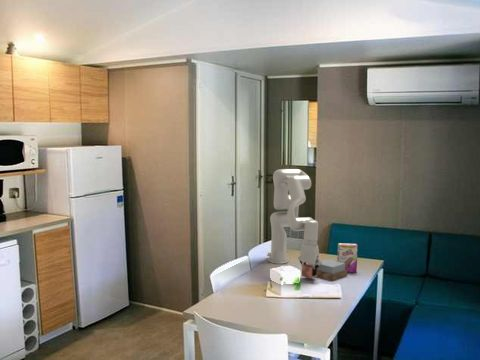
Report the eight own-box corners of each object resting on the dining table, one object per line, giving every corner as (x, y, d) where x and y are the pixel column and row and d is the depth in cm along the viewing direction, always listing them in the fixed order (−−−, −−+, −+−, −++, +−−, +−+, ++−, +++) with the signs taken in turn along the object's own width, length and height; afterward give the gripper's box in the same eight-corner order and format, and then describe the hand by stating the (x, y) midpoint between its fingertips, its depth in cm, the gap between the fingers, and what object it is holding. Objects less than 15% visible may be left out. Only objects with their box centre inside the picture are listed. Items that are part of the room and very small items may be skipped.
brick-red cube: (301, 275, 260) (301, 265, 260) (307, 273, 265) (308, 263, 264) (310, 278, 256) (310, 267, 256) (316, 276, 261) (317, 265, 260)
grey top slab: (314, 269, 267) (315, 262, 267) (327, 266, 275) (327, 259, 275) (332, 274, 258) (332, 267, 258) (344, 270, 267) (345, 263, 266)
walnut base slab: (312, 276, 267) (312, 269, 267) (326, 271, 277) (326, 265, 277) (333, 282, 258) (333, 275, 257) (347, 277, 267) (347, 270, 267)
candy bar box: (337, 272, 275) (338, 244, 273) (336, 269, 280) (337, 242, 278) (357, 273, 274) (358, 245, 272) (355, 270, 279) (356, 243, 277)
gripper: (293, 240, 262) (292, 272, 264) (319, 246, 250) (318, 279, 252) (301, 238, 267) (300, 269, 269) (327, 244, 255) (326, 276, 257)
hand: (309, 273), depth 260 cm, fingers closed on brick-red cube, 6 cm apart
